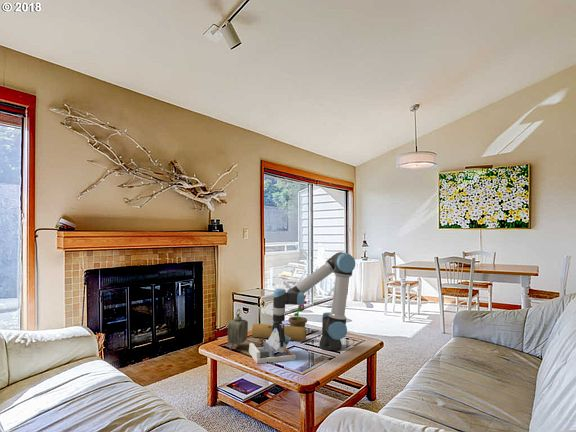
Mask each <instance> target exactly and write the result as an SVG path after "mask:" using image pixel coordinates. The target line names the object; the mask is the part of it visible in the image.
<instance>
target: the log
mask: <svg viewBox="0 0 576 432" xmlns="http://www.w3.org/2000/svg"><path fill="white" fill-rule="evenodd" d="M272 327H273V324H268V323H253V324H252V328H251V337H253V338H260V339H269V338H270V336H271V334H272ZM284 333H285V334H287V335H288V336H289V337H291V339H290V341H294V342H306V340H307V328H306V327H305V328H304V327H294V326H290V325H284Z"/></svg>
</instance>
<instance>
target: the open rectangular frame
mask: <svg viewBox="0 0 576 432" xmlns="http://www.w3.org/2000/svg"><path fill="white" fill-rule="evenodd" d="M248 344H249V347H248V353H249V354H250V356H251V357H252V359H253V360H254V361H255V362H256V364H257V363H259V364H267V362H268V363H274V362H276V363H277V362H284V361H285V362H286V361H292V360H293V361H294V360H296V357H297V356H296V354H294V353H292V351H291V350H289V349H288V348H287V347H286V348H285V350H284V352H285V353H286V354H287V355H278V356H274V357H268V356H267V357H261V356H260V350H264V346H257V347H256V345H255V344H254V342H250V343H248ZM272 349H273V350H274V351H276V350H275V349H274V348H273V347H272Z"/></svg>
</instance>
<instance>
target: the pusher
mask: <svg viewBox="0 0 576 432" xmlns="http://www.w3.org/2000/svg"><path fill="white" fill-rule="evenodd" d="M263 347H264V350H260V358H268V357H275V350H273V349H272V347H271V346H270V345H269V344H267V341H266V340H265V341H263Z"/></svg>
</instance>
